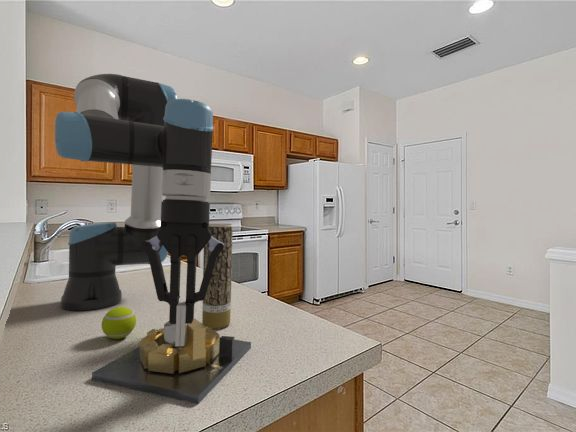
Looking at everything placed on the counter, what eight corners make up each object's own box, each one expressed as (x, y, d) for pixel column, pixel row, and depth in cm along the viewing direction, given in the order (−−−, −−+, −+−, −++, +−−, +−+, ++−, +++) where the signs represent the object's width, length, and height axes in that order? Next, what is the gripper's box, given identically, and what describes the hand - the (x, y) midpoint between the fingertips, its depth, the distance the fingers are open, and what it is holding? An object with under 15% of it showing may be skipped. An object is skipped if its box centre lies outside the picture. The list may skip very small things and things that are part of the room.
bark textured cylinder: (235, 322, 81) (237, 223, 80) (221, 332, 74) (223, 225, 74) (212, 318, 83) (214, 222, 82) (196, 327, 77) (198, 223, 76)
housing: (91, 379, 53) (92, 336, 53) (168, 334, 72) (169, 303, 72) (198, 403, 47) (199, 355, 47) (251, 347, 66) (251, 313, 66)
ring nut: (134, 348, 61) (135, 308, 61) (202, 334, 69) (203, 298, 69) (155, 389, 48) (155, 337, 48) (236, 366, 56) (237, 321, 56)
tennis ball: (137, 340, 69) (138, 309, 68) (101, 346, 65) (102, 314, 65) (134, 329, 74) (134, 301, 74) (100, 335, 71) (101, 305, 71)
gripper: (137, 196, 47) (131, 354, 47) (226, 200, 49) (220, 351, 50) (149, 197, 54) (144, 335, 55) (226, 201, 57) (221, 332, 57)
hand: (180, 342), depth 52 cm, fingers closed
